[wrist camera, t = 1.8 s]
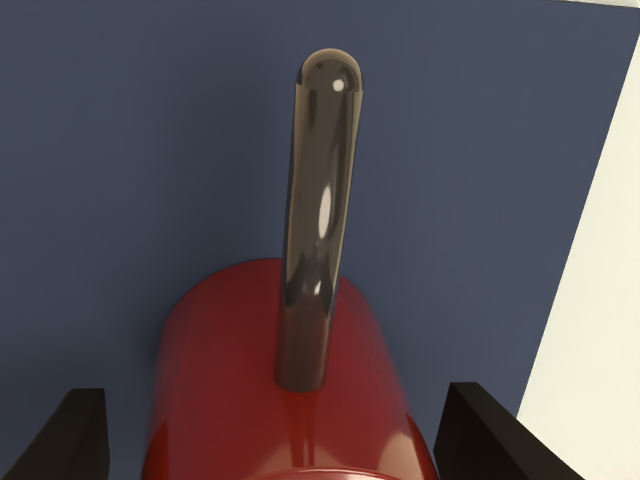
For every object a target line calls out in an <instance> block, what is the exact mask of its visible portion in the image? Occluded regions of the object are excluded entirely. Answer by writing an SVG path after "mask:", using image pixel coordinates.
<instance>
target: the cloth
mask: <svg viewBox="0 0 640 480" xmlns="http://www.w3.org/2000/svg"><path fill="white" fill-rule="evenodd" d="M639 34H640V8H635V7H625V6H614V5H604V4H594V3H583V2H573V1H563V0H0V480H1V478H2V477H3V476H4V475H5V474H6V472H7V471H8V470H9V469H10V468H11V466H12V465H13V464H14V463H15V461H16V460H17V459H18V458H19V456H20V455H21V454H22V453H23V452H24V450H25V449H26V448H27V447H28V445H29V444H30V443H31V442H32V440H33V439H34V438H35V436H36V435H37V434H38V432H39V431H40V430H41V428H42V427H43V426H44V424H45V423H46V422H47V420H48V419H49V418H50V416H51V415H52V413H53V412H54V411H55V409H56V408H57V406H58V405H59V404H60V402H61V401H62V399H63V398H64V396H65V395H66V393H67V392H69V391H70V390H71V389H74V388H104V389H105V402H106V414H107V426H108V439H109V451H110V469H109V476H108V480H138V477H139V471H140V464H141V457H142V451H143V444H144V438H145V431H146V424H147V418H148V411H149V404H150V398H151V391H152V384H153V378H154V371H155V365H156V358H157V351H158V345H159V340H160V336H161V332H162V329H163V327H164V324H165V322H166V320H167V318H168V316H169V315H170V313H171V311H172V310H173V308H174V307H175V306H176V305H177V303H178V302H179V301H180V300H181V298H182V297H183V296H185V295H186V294H187V293H188V292H189V291H190V290H191V289H192V288H193V287H195V286H196V285H197V284H199V283H200V282H201V281H203V280H204V279H206V278H208V277H209V276H211V275H213V274H215V273H217V272H219V271H221V270H223V269H226V268H228V267H231V266H233V265H237V264H241V263H244V262H248V261H254V260H261V259H276V258H282V246H283V234H284V221H285V208H286V196H287V183H288V170H289V158H290V145H291V132H292V120H293V107H294V94H295V82H296V76H297V72H298V70H299V67H300V66H301V64H302V62H303V61H304V60H305V59H306V58H307V57H308V56H309V55H311V54H312V53H314V52H316V51H318V50H321V49H326V48H335V49H340V50H342V51H345V52H347V53H348V54H350V55H351V56H352V57H353V58H354V59H355V60H356V61H357V62H358V64H359V65H360V67H361V70H362V72H363V75H364V94H363V102H362V109H361V117H360V125H359V132H358V140H357V148H356V155H355V163H354V171H353V178H352V186H351V194H350V201H349V209H348V217H347V224H346V232H345V240H344V247H343V255H342V263H341V270H340V275H341V276H342V277H344V278H346V279H347V280H349V281H350V282H351V283H352V284H353V285H355V286H356V287H357V288H358V289H359V290H360V291H361V292H362V293H363V295H364V296H365V297H366V298H367V299H368V301H369V303H370V304H371V306H372V308H373V309H374V312H375V314H376V316H377V319H378V321H379V324H380V327H381V329H382V332H383V334H384V337H385V339H386V342H387V345H388V347H389V350H390V352H391V355H392V358H393V360H394V363H395V365H396V368H397V370H398V373H399V376H400V378H401V381H402V383H403V386H404V388H405V391H406V394H407V396H408V399H409V401H410V404H411V406H412V409H413V412H414V414H415V417H416V419H417V422H418V425H419V427H420V430H421V432H422V435H423V437H424V440H425V443H426V445H427V448H428V450H429V453H430V455H431V458H432V461H433V463H434V466H435V468H436V471H437V473H438V470H437V466H436V462H435V458H434V454H433V448H434V444H435V440H436V436H437V432H438V428H439V424H440V420H441V416H442V412H443V408H444V404H445V400H446V396H447V392H448V388H449V384H450V382H477V383H478V384H480V385H481V386H482V387H483V388H484V389H485V390H486V391H487V392H488V393H489V394H491V395H492V396H493V397H494V398H495V399H496V400H497V401H498V402H499V403H500V404H501V405H502V406H503V407H504V408H505V409H506V410H507V411H508V412H509V413H511V414H512V415H513V416H514V417H515V418H516V417H517V414H518V411H519V408H520V405H521V401H522V398H523V395H524V392H525V389H526V386H527V383H528V380H529V377H530V373H531V370H532V367H533V364H534V361H535V358H536V355H537V352H538V348H539V345H540V342H541V339H542V336H543V333H544V330H545V327H546V324H547V320H548V317H549V314H550V311H551V308H552V305H553V302H554V299H555V296H556V292H557V289H558V286H559V283H560V280H561V277H562V274H563V271H564V268H565V264H566V261H567V258H568V255H569V252H570V249H571V246H572V243H573V239H574V236H575V233H576V230H577V227H578V224H579V221H580V218H581V215H582V211H583V208H584V205H585V202H586V199H587V196H588V193H589V190H590V187H591V183H592V180H593V177H594V174H595V171H596V168H597V165H598V162H599V159H600V155H601V152H602V149H603V146H604V143H605V140H606V137H607V134H608V131H609V127H610V124H611V121H612V118H613V115H614V112H615V109H616V106H617V102H618V99H619V96H620V93H621V90H622V87H623V84H624V81H625V78H626V74H627V71H628V68H629V65H630V62H631V59H632V56H633V53H634V50H635V46H636V43H637V40H638V37H639ZM438 476H439V474H438ZM439 479H440V478H439Z"/></svg>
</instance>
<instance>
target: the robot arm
mask: <svg viewBox="0 0 640 480" xmlns="http://www.w3.org/2000/svg"><path fill="white" fill-rule="evenodd" d="M433 454H434V458H435V462H436V466H437V470H438V474H439V478H440V480H585V479H584V478H582V477H581V476H580V475H579V474H578V473H576V472H575V471H574V470H573V469H571V468H570V467H569V466H568V465H567V464H566V463H564V462H563V461H562V460H561V459H560V458H559V457H557V456H556V455H555V454H554V453H553V452H552V451H551V450H549V449H548V448H547V447H546V446H545V445H544V444H543V443H542V442H541V441H540V440H538V439H537V438H536V437H535V436H534V435H533V434H532V433H531V432H530V431H529V430H528V429H526V428H525V427H524V426H523V425H522V424H521V423H520V422H519V421H518V420H517V419H516V418H515V417H514V416H513V415H512V414H511V413H509V412H508V411H507V410H506V409H505V408H504V407H503V406H502V405H501V404H500V403H499V402H498V401H497V400H496V399H495V398H494V397H493V396H492V395H491V394H489V393H488V392H487V391H486V390H485V389H484V388H483V387H482V386H481V385H480V384H478V383H477V382H450V384H449V388H448V392H447V396H446V400H445V404H444V408H443V412H442V416H441V420H440V424H439V428H438V432H437V436H436V440H435V444H434V448H433ZM109 469H110V451H109V439H108V426H107V414H106V402H105V389H104V388H74V389H71V390H70V391H69V392H67V393H66V395H65V396H64V398H63V399H62V401H61V402H60V404H59V405H58V406H57V408H56V409H55V411H54V412H53V413H52V415H51V416H50V418H49V419H48V420H47V422H46V423H45V424H44V426H43V427H42V428H41V430H40V431H39V432H38V434H37V435H36V436H35V438H34V439H33V440H32V442H31V443H30V444H29V445H28V447H27V448H26V449H25V450H24V452H23V453H22V454H21V455H20V456H19V458H18V459H17V460H16V461H15V463H14V464H13V465H12V466H11V468H10V469H9V470H8V471H7V472H6V474H5V475H4V476H3V477H2V478H1V480H108V476H109Z"/></svg>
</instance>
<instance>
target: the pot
mask: <svg viewBox="0 0 640 480" xmlns="http://www.w3.org/2000/svg"><path fill="white" fill-rule="evenodd" d="M363 94H364V75H363V72H362V70H361V67H360V65H359V64H358V62H357V61H356V60H355V59H354V58H353V57H352V56H351V55H350V54H348V53H347V52H345V51H342V50H340V49H335V48H326V49H321V50H318V51H316V52H314V53H312V54H311V55H309V56H308V57H307V58H306V59H305V60H304V61H303V62H302V64H301V66H300V67H299V70H298V72H297V76H296V82H295V94H294V107H293V120H292V132H291V145H290V158H289V170H288V183H287V196H286V208H285V221H284V234H283V246H282V258H276V259H261V260H254V261H248V262H244V263H241V264H237V265H233V266H231V267H228V268H226V269H223V270H221V271H219V272H217V273H215V274H213V275H211V276H209V277H208V278H206V279H204V280H203V281H201V282H200V283H199V284H197V285H196V286H195V287H193V288H192V289H191V290H190V291H189V292H188V293H187V294H186V295H185V296H183V297H182V298H181V300H180V301H179V302H178V303H177V305H176V306H175V307H174V308H173V310H172V311H171V313H170V315H169V316H168V318H167V320H166V322H165V324H164V327H163V329H162V332H161V336H160V340H159V345H158V351H157V358H156V365H155V371H154V378H153V384H152V391H151V398H150V404H149V411H148V418H147V424H146V431H145V438H144V444H143V451H142V457H141V464H140V471H139V477H138V480H440V479H439V476H438V473H437V471H436V468H435V466H434V463H433V461H432V458H431V455H430V453H429V450H428V448H427V445H426V443H425V440H424V437H423V435H422V432H421V430H420V427H419V425H418V422H417V419H416V417H415V414H414V412H413V409H412V406H411V404H410V401H409V399H408V396H407V394H406V391H405V388H404V386H403V383H402V381H401V378H400V376H399V373H398V370H397V368H396V365H395V363H394V360H393V358H392V355H391V352H390V350H389V347H388V345H387V342H386V339H385V337H384V334H383V332H382V329H381V327H380V324H379V321H378V319H377V316H376V314H375V312H374V309H373V308H372V306H371V304H370V303H369V301H368V299H367V298H366V297H365V296H364V295H363V293H362V292H361V291H360V290H359V289H358V288H357V287H356V286H355V285H353V284H352V283H351V282H350V281H349V280H347V279H346V278H344V277H342V276H341V275H340V270H341V263H342V255H343V247H344V240H345V232H346V224H347V217H348V209H349V201H350V194H351V186H352V178H353V171H354V163H355V155H356V148H357V140H358V132H359V125H360V117H361V109H362V102H363Z"/></svg>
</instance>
